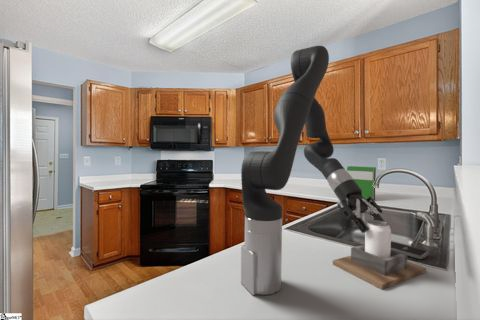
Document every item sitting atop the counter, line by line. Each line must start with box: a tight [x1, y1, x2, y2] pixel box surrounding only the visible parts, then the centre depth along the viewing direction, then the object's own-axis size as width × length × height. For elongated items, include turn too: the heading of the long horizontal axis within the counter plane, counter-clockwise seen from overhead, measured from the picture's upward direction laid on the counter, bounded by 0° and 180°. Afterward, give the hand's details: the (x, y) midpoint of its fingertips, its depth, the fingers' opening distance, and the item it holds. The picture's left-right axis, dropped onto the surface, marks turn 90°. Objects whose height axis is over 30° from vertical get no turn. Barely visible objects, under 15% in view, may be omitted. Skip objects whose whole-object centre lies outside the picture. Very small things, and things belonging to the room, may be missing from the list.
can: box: [364, 219, 392, 259], centre depth 70 cm, size 6×6×12 cm
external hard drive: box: [391, 241, 429, 261], centre depth 82 cm, size 7×11×2 cm, turn 37°
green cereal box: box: [346, 166, 377, 201], centre depth 181 cm, size 18×7×24 cm, turn 47°
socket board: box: [332, 244, 427, 290], centre depth 70 cm, size 20×15×5 cm
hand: (375, 229), depth 71 cm, fingers open, 8 cm apart
